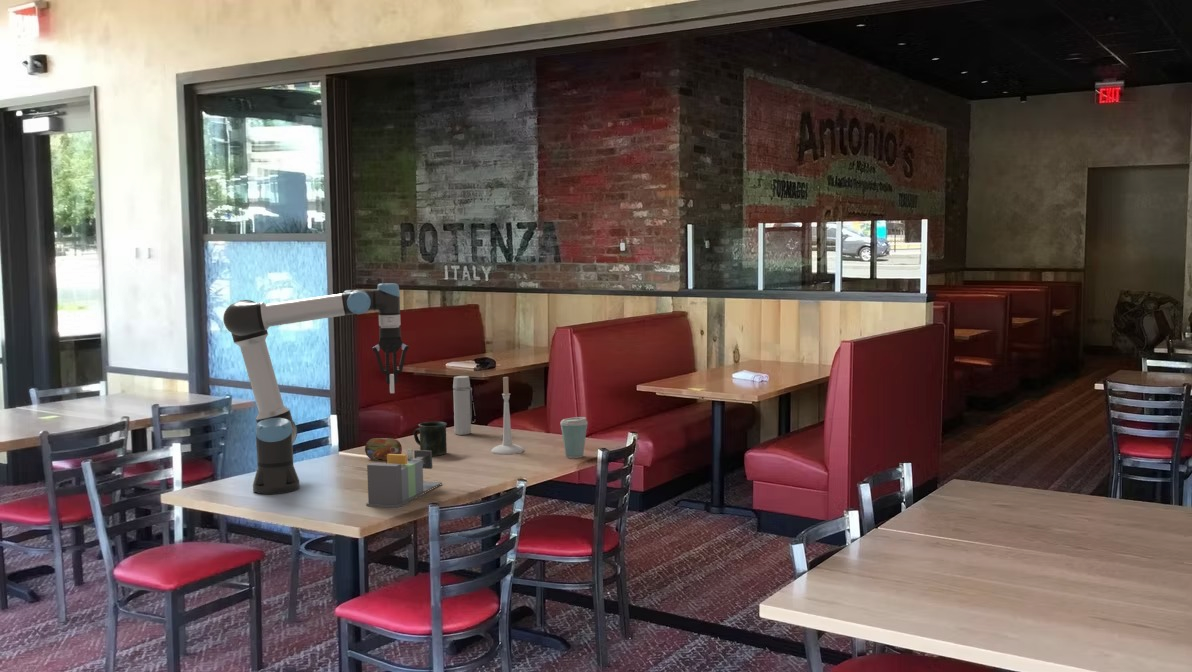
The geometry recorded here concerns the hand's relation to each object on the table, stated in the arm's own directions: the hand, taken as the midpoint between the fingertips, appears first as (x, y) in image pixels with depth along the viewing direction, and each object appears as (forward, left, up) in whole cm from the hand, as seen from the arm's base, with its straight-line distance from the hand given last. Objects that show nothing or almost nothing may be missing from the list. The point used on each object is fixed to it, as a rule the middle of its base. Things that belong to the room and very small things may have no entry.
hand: (392, 392), depth 364 cm
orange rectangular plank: (-1, -38, -18) cm, 42 cm away
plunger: (+5, -29, -23) cm, 37 cm away
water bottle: (+33, +72, -30) cm, 85 cm away
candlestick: (+45, +28, -30) cm, 61 cm away
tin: (-3, +27, -30) cm, 40 cm away
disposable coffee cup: (+68, +9, -30) cm, 75 cm away
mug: (+15, +33, -30) cm, 47 cm away
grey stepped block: (+2, -34, -29) cm, 45 cm away
